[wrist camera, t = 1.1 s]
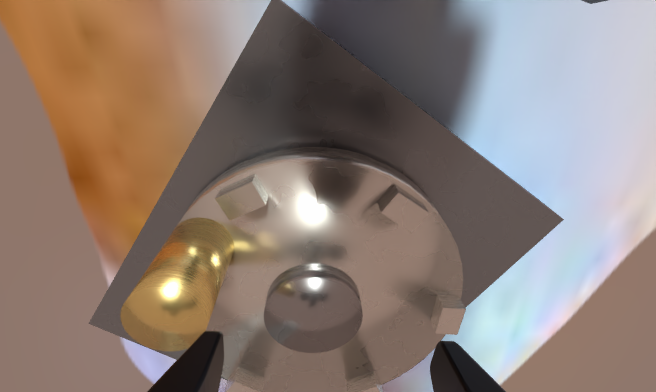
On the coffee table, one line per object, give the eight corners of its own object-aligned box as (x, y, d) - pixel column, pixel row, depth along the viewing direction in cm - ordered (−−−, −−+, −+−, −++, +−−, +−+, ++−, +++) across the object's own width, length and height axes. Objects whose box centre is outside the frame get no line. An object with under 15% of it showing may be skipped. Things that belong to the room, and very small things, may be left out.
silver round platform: (508, 247, 20) (593, 347, 14) (342, 399, 26) (351, 521, 20) (266, 79, 16) (236, 117, 10) (128, 306, 22) (51, 424, 15)
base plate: (278, -2, 17) (273, -5, 15) (543, 203, 22) (565, 221, 20) (105, 301, 24) (86, 326, 22) (333, 399, 29) (335, 427, 27)
